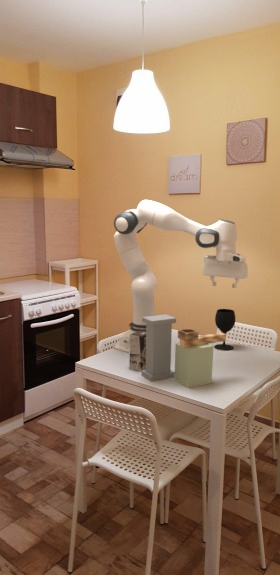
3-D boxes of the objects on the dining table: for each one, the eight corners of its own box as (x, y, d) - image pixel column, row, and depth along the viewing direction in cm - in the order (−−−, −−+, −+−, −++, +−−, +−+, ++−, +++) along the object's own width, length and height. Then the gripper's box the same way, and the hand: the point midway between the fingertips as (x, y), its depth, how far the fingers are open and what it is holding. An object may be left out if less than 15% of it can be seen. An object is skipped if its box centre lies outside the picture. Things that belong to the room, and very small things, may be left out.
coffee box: (141, 371, 199) (141, 336, 196) (128, 368, 202) (129, 334, 199) (150, 365, 207) (151, 331, 204) (138, 362, 210) (139, 329, 207)
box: (197, 375, 195) (198, 339, 193) (211, 382, 187) (213, 346, 184) (174, 379, 190) (175, 343, 187) (188, 387, 181) (189, 350, 178)
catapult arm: (219, 338, 196) (219, 324, 194) (228, 341, 190) (228, 327, 189) (177, 344, 185) (177, 329, 184) (185, 348, 180) (186, 333, 179)
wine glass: (219, 343, 243) (221, 307, 239) (237, 347, 237) (239, 310, 233) (210, 347, 235) (211, 310, 231) (228, 351, 228) (230, 313, 225)
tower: (164, 370, 200) (165, 314, 196) (174, 376, 193) (176, 318, 189) (141, 375, 194) (142, 317, 190) (150, 381, 187) (151, 321, 183)
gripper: (201, 255, 203) (200, 285, 205) (245, 258, 193) (244, 289, 195) (206, 254, 208) (204, 283, 210) (249, 257, 198) (247, 287, 201)
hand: (224, 286), depth 203 cm, fingers open, 8 cm apart
